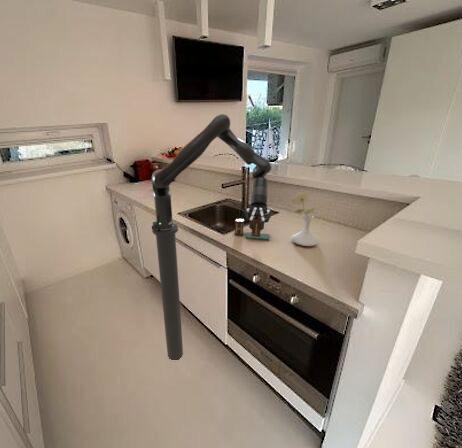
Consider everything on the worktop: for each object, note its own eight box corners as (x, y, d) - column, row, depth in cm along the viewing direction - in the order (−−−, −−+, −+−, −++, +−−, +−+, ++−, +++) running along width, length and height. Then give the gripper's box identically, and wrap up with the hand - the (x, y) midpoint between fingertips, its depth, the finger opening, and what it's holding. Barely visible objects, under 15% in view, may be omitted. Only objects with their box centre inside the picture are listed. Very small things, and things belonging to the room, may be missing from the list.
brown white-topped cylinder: (251, 236, 117) (252, 220, 114) (251, 233, 120) (252, 218, 117) (260, 237, 116) (261, 221, 113) (260, 234, 119) (261, 218, 116)
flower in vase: (314, 238, 121) (322, 189, 111) (319, 249, 110) (329, 195, 101) (286, 236, 124) (292, 188, 114) (289, 247, 114) (295, 195, 104)
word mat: (245, 238, 124) (246, 237, 124) (246, 233, 129) (247, 232, 129) (268, 240, 121) (268, 239, 121) (268, 235, 126) (268, 234, 126)
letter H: (234, 235, 128) (235, 221, 125) (235, 232, 131) (236, 218, 128) (242, 236, 127) (243, 221, 124) (243, 233, 130) (243, 219, 127)
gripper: (244, 192, 120) (240, 224, 114) (275, 194, 116) (272, 227, 110) (244, 200, 126) (241, 230, 120) (273, 201, 122) (271, 233, 116)
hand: (256, 229), depth 115 cm, fingers closed on brown white-topped cylinder, 4 cm apart
